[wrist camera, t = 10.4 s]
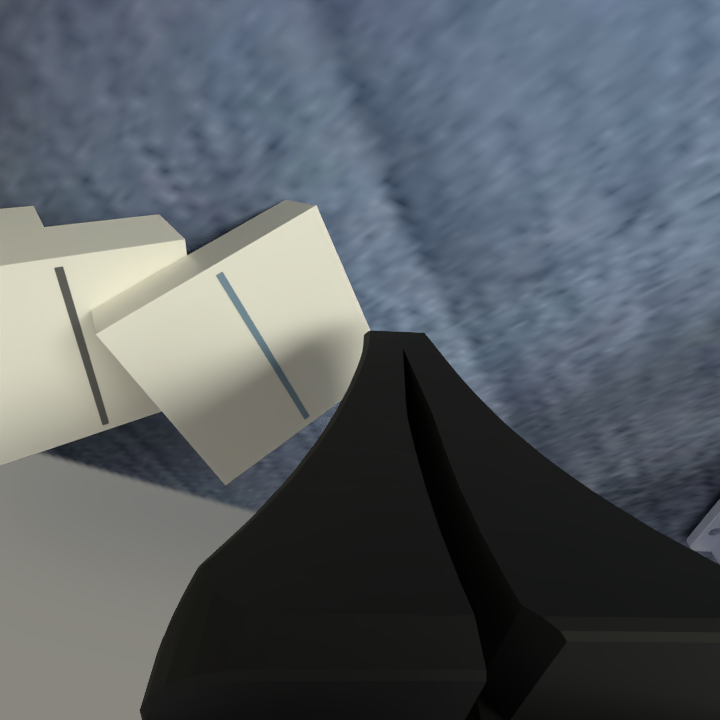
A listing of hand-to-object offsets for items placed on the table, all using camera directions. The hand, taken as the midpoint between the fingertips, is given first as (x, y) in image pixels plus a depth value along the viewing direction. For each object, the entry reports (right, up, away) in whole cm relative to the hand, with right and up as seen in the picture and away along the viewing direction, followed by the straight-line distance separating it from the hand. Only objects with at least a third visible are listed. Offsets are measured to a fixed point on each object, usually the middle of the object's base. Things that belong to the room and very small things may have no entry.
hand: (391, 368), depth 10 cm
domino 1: (-6, +1, +2) cm, 6 cm away
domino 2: (-1, +2, +2) cm, 3 cm away
